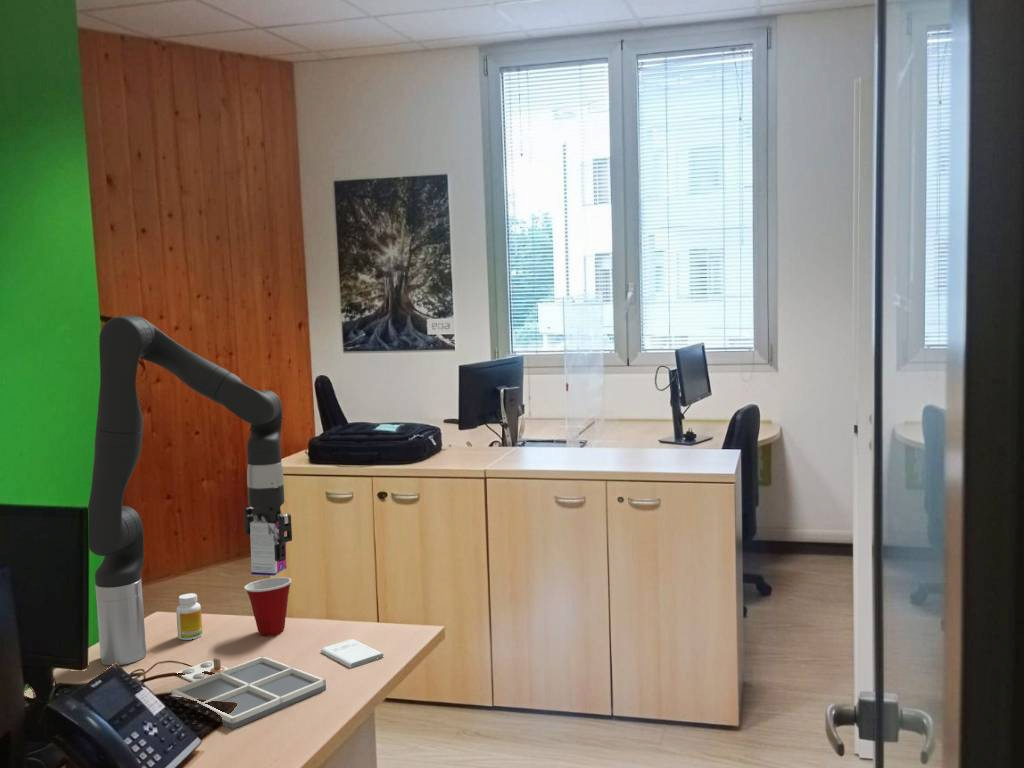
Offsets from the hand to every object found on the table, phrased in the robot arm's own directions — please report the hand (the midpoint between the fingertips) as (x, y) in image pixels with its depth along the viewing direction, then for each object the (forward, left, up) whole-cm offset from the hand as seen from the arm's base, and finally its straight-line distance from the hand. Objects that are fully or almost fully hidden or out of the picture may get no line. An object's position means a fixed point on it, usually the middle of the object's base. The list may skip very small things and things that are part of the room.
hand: (269, 557), depth 196 cm
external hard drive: (+14, +10, -22) cm, 28 cm away
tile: (-4, -15, -22) cm, 27 cm away
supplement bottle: (-26, -5, -22) cm, 34 cm away
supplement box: (0, 0, -3) cm, 3 cm away
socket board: (+14, -15, -22) cm, 30 cm away
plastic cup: (-13, +8, -22) cm, 27 cm away
